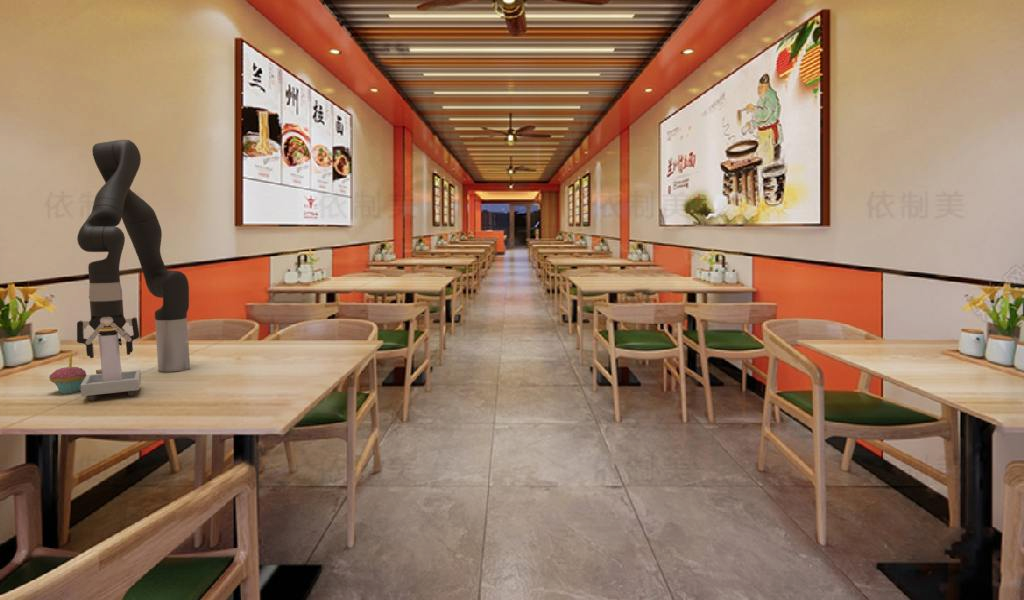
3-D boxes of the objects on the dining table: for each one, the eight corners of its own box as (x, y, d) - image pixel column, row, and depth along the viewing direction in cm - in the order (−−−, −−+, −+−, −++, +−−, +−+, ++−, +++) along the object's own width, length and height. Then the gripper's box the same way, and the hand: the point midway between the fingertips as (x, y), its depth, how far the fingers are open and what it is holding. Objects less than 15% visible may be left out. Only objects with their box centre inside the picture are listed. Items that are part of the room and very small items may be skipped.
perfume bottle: (108, 387, 162) (101, 315, 159) (95, 385, 164) (89, 314, 162) (129, 382, 167) (123, 313, 164) (116, 380, 169) (110, 312, 167)
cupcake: (94, 389, 171) (91, 348, 170) (64, 396, 163) (60, 354, 162) (74, 386, 174) (71, 346, 173) (43, 393, 166) (39, 352, 165)
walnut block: (112, 380, 182) (111, 367, 182) (116, 382, 180) (115, 369, 179) (96, 382, 179) (95, 370, 179) (100, 385, 176) (99, 372, 176)
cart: (141, 386, 174) (140, 370, 174) (139, 396, 163) (138, 379, 163) (88, 392, 168) (86, 375, 168) (81, 403, 157) (80, 385, 156)
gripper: (137, 296, 169) (141, 351, 171) (76, 298, 162) (81, 356, 164) (135, 298, 163) (139, 355, 165) (72, 301, 156) (77, 361, 158)
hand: (110, 355), depth 164 cm, fingers open, 8 cm apart
